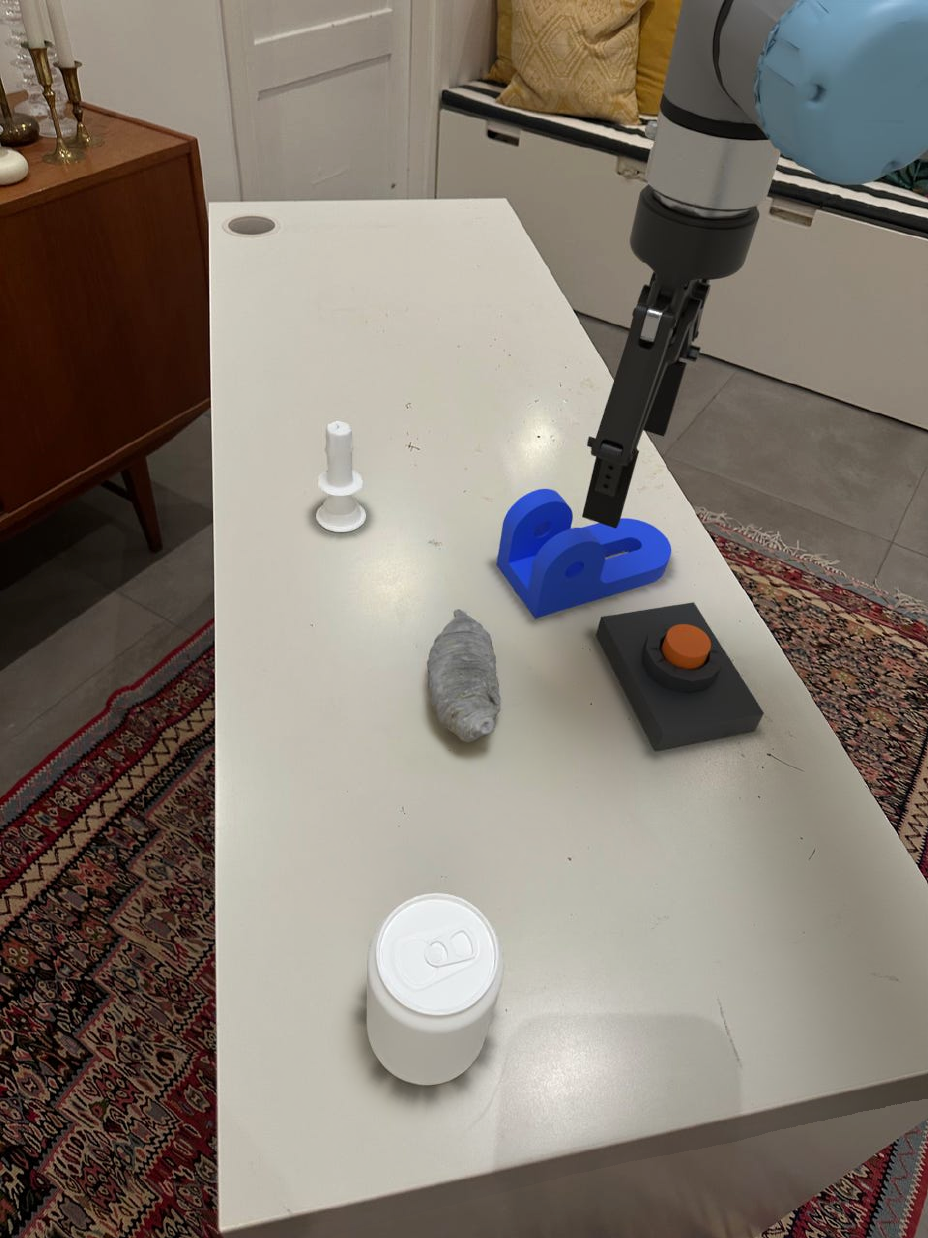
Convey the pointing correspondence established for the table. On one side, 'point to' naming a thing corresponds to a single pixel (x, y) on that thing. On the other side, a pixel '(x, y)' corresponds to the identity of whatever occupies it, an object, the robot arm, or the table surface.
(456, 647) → the grey ridged oval piece
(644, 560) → the bracket
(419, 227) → the table surface
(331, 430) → the candle
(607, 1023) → the table surface
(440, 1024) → the beverage can
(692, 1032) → the table surface
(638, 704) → the push button base
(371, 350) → the table surface
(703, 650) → the switch
